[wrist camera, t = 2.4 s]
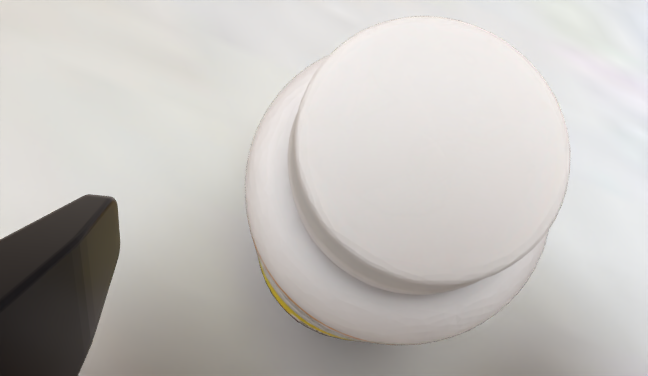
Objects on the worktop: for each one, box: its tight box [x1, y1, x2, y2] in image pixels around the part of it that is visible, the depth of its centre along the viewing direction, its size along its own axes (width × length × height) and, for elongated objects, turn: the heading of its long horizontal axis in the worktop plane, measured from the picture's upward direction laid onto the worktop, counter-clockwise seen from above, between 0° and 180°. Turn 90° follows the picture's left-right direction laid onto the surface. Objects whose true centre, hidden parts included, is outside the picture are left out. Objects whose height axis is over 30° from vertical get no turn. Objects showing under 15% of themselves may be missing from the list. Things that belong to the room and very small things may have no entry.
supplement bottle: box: [245, 16, 570, 345], centre depth 13 cm, size 6×6×10 cm
